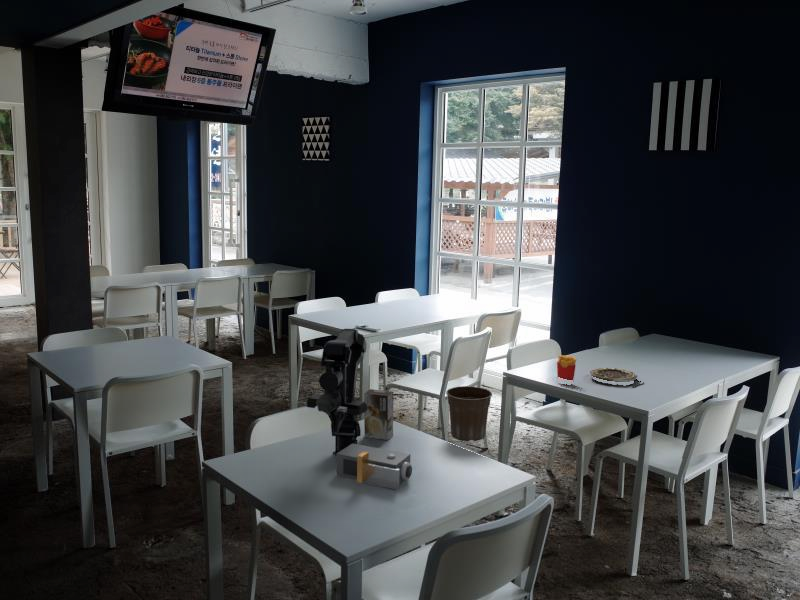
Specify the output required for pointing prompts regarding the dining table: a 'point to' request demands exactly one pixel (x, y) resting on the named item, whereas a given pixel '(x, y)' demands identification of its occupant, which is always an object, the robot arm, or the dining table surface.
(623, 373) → the pie
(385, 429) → the coffee box
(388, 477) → the orange and silver box
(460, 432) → the plant pot
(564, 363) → the french fries
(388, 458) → the camera housing
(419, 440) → the dining table surface
